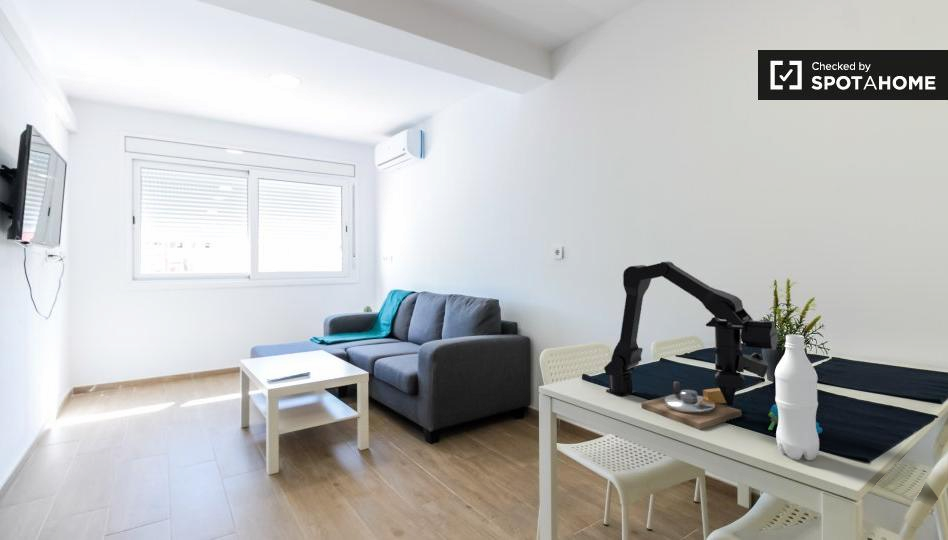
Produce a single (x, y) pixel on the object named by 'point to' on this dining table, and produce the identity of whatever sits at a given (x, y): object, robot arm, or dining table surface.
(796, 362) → the water bottle
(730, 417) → the base board
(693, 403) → the flange
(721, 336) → the robot arm
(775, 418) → the green blue toy figure
